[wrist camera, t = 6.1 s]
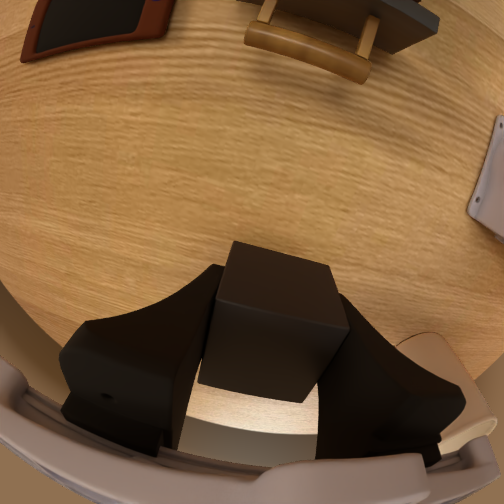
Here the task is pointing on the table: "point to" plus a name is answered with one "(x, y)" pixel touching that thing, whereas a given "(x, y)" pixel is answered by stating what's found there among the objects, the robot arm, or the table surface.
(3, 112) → the table surface
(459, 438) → the candle holder
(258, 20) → the drawer
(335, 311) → the block
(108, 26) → the smartphone
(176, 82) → the table surface
